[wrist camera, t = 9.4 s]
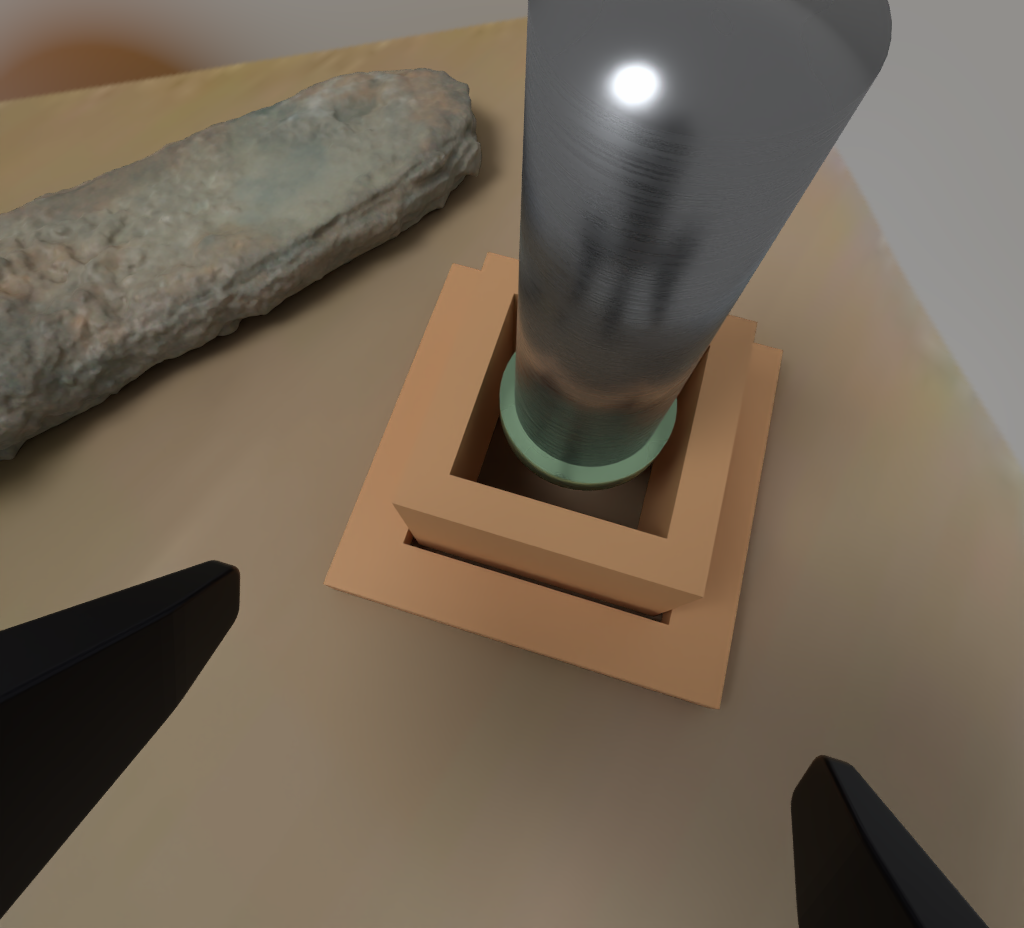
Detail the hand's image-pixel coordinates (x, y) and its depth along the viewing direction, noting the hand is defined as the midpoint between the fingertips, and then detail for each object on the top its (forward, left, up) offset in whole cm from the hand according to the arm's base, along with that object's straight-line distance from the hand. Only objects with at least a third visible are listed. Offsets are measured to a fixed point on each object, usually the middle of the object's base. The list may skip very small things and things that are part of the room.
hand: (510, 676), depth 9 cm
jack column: (+6, -4, -7) cm, 10 cm away
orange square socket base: (+6, -4, -11) cm, 14 cm away
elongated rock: (+17, +13, -12) cm, 24 cm away
